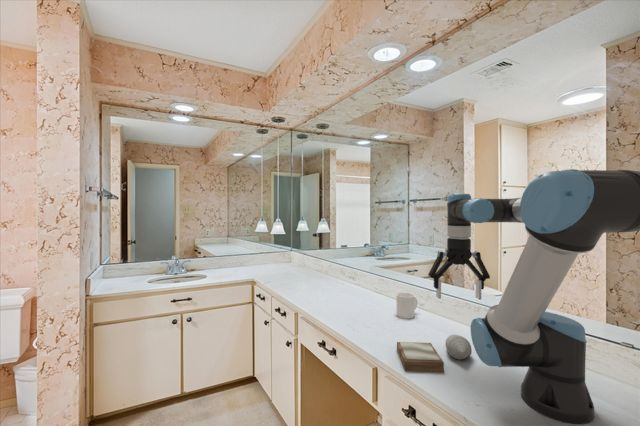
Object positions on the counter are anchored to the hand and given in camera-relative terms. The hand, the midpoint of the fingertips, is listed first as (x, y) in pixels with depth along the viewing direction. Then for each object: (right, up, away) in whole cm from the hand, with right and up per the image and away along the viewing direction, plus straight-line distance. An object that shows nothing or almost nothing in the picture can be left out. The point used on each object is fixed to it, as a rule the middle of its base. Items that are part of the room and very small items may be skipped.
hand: (458, 298), depth 106 cm
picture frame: (-15, -20, -4) cm, 25 cm away
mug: (-6, -20, +40) cm, 45 cm away
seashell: (0, -20, +1) cm, 20 cm away
